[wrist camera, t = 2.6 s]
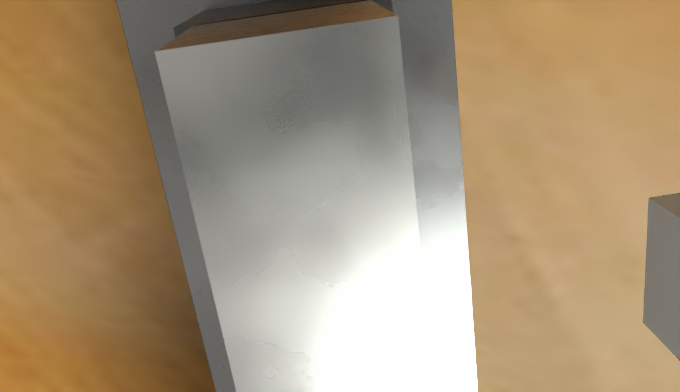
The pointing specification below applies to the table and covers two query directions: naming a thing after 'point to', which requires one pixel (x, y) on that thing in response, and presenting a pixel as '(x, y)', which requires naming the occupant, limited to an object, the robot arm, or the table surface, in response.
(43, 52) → the table surface
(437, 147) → the grey slotted frame stand
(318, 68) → the light grey square rod
